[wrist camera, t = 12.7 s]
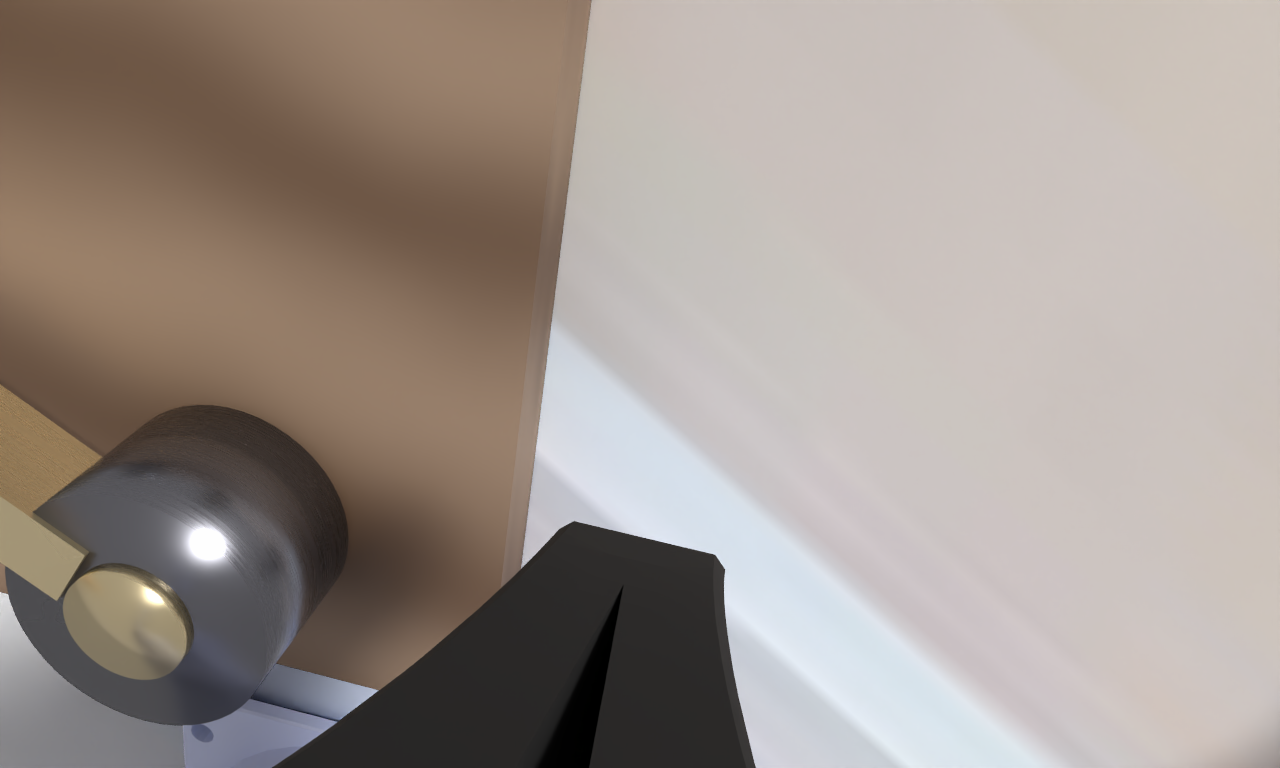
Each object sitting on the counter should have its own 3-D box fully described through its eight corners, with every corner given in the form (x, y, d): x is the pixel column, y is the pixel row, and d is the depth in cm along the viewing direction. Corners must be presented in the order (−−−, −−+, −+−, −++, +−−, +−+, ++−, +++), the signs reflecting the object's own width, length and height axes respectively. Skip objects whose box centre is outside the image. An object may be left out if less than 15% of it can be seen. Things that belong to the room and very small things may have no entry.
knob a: (392, 512, 19) (306, 631, 16) (279, 652, 21) (183, 781, 18) (-156, 107, 18) (-360, 158, 15) (-223, 299, 20) (-415, 376, 17)
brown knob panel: (508, 666, 22) (443, 812, 19) (-233, 478, 24) (-416, 581, 21) (678, -702, 13) (608, -905, 9) (-576, -854, 14) (-1025, -1073, 11)
